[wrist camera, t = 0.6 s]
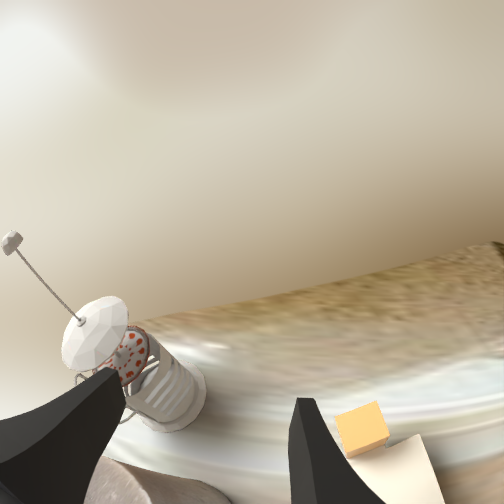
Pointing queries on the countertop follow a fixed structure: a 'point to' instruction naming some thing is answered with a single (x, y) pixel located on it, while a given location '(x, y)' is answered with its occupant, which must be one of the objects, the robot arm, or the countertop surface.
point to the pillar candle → (145, 487)
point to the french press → (129, 360)
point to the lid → (387, 459)
